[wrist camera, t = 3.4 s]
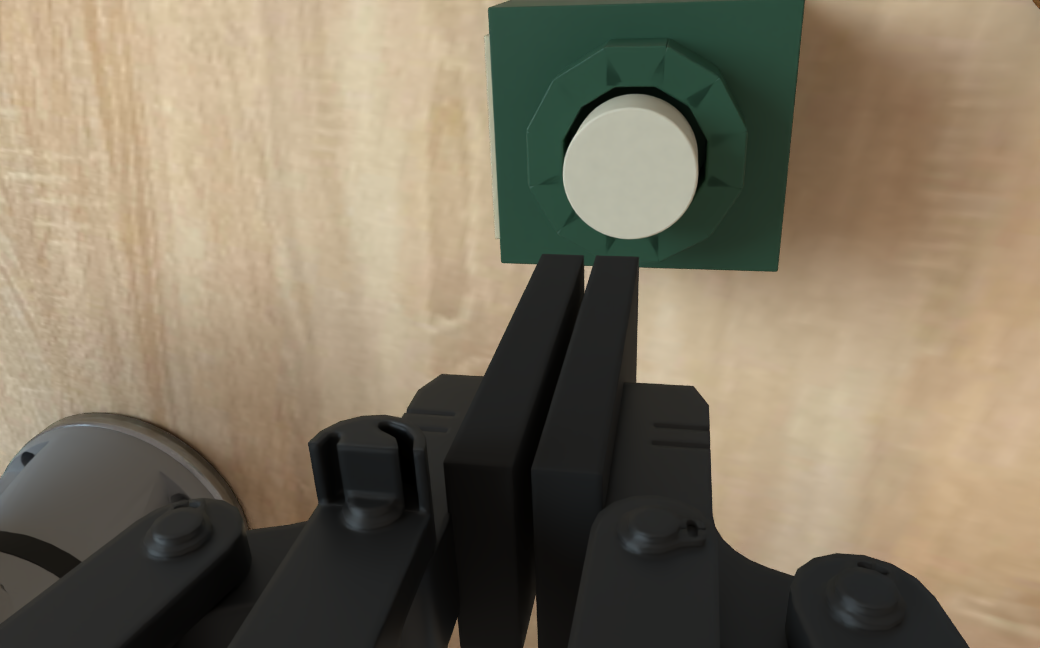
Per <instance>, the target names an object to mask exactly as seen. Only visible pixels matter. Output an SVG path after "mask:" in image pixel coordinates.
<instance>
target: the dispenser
mask: <svg viewBox="0 0 1040 648" xmlns="http://www.w3.org/2000/svg"><path fill="white" fill-rule="evenodd" d="M804 4H805V0H509V1H506V2H504V3H501V4H498V5H495V6H492V7H489V8H488V18H489V37H490V56H491V76H492V95H493V114H494V133H495V153H496V172H497V191H498V210H499V229H500V249H501V262H502V263H515V264H538V261H539V259H540V257H541V255H542V254H564V255H584V266H593V264H594V261H595V257H596V255H599V256H633V257H639V267H644V268H676V269H708V270H740V271H772V272H776V271H778V263H779V253H780V243H781V233H782V223H783V213H784V203H785V193H786V183H787V173H788V163H789V153H790V143H791V133H792V123H793V113H794V103H795V93H796V83H797V73H798V63H799V53H800V43H801V33H802V23H803V14H804ZM627 94H645V95H650V96H654V97H657V98H660V99H662V100H664V101H666V102H668V103H669V104H671V105H672V106H674V107H675V108H676V109H677V110H678V111H680V112H681V113H682V115H683V116H684V117H685V118H686V119H687V121H688V123H689V124H690V126H691V128H692V130H693V132H694V135H695V138H696V142H697V148H698V183H697V188H696V191H695V194H694V197H693V199H692V202H691V203H690V205H689V207H688V209H687V210H686V211H685V213H684V214H683V215H682V216H681V217H680V218H679V219H678V220H677V221H676V222H675V223H674V224H673V225H671V226H670V227H669V228H667V229H665V230H664V231H662V232H660V233H658V234H655V235H653V236H649V237H646V238H640V239H620V238H615V237H611V236H608V235H605V234H602V233H600V232H598V231H596V230H595V229H593V228H592V227H590V226H589V225H588V224H586V223H585V222H584V221H583V220H582V219H581V218H580V217H579V216H578V215H577V213H576V212H575V210H574V209H573V208H572V206H571V204H570V202H569V200H568V198H567V195H566V192H565V188H564V183H563V164H564V159H565V155H566V152H567V149H568V147H569V145H570V143H571V141H572V139H573V138H574V136H575V134H576V133H577V131H578V129H579V127H580V126H581V124H582V123H583V121H584V120H585V118H586V117H587V116H588V115H589V114H590V113H591V112H592V111H593V110H594V109H595V108H596V107H598V106H599V105H601V104H602V103H604V102H606V101H608V100H610V99H612V98H615V97H618V96H622V95H627Z"/></svg>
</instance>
